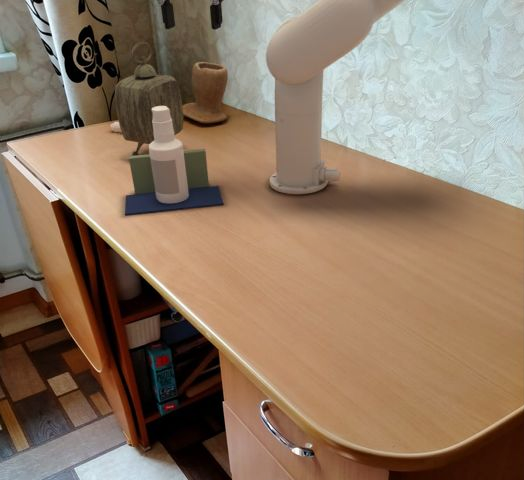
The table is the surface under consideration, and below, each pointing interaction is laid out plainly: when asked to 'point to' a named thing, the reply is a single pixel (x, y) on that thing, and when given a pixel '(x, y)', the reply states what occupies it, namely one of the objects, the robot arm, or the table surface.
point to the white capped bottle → (167, 159)
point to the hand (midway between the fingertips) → (193, 28)
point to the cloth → (151, 204)
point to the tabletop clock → (146, 101)
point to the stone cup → (207, 93)
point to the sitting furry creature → (115, 127)
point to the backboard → (193, 165)
